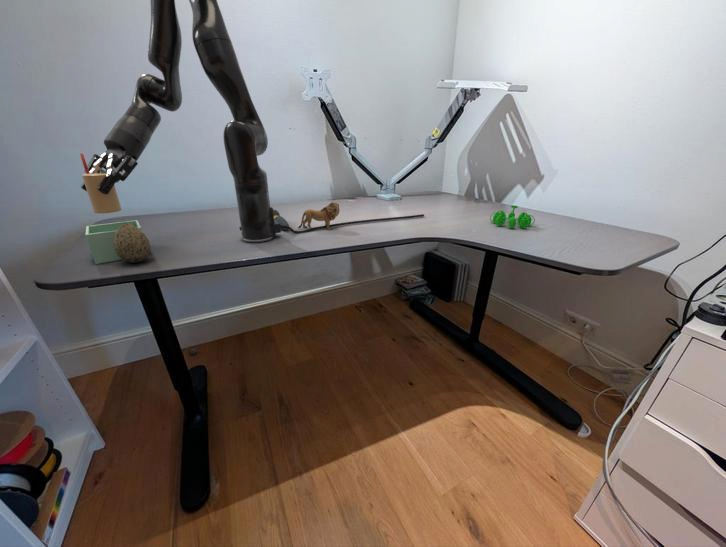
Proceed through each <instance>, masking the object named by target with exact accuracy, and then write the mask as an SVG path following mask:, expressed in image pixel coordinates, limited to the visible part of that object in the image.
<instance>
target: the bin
mask: <svg viewBox="0 0 726 547" xmlns="http://www.w3.org/2000/svg"><path fill="white" fill-rule="evenodd" d="M124 223H129V224H132V225H133V226H135V227H137V228H138V229H140V230H141V231H142V232H143V229H142V226H141V224H140V223H139V219H136V220H127V221H118V222H110V223H102V224H93V225H86V227H85V233H84V236H85V238H86V241H87V245H88V246H89V250H90V252H91V253H90V254H91V255H92V258H93V260H94V264H95V265H99V264H104V263H105V264H106V263H110V262H117V261H123V259H121V258H120V257H119V256H118V254H117V253H116V251H115V248H114V237H115V234H116V232H117V230H118V229H119V227H120V226H121V225H122V224H124Z"/></svg>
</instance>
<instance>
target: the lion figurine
mask: <svg viewBox="0 0 726 547" xmlns="http://www.w3.org/2000/svg"><path fill="white" fill-rule="evenodd" d="M340 210H341V209H340V204H339V203H338V202H335V201H332V202H330V203H329V204H327V205H326V206H324V207H323V208H322V209H320V210H315V209H311V208H310V209H306V210H305V211H303V213H302V217H301V222H300V224H299V225H298V227H297V229H301V228H304V229H306V228H308V229H310V228H312V226H311V223H312V220H314V221H317V222H324V226H326V225H327V228H326V229H327V230H328V231H330V230H332V227H329V225H331V221H335V219H336V218H337V217H338V216H339V214H340ZM306 223H307V225H306Z"/></svg>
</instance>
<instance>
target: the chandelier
mask: <svg viewBox="0 0 726 547" xmlns="http://www.w3.org/2000/svg"><path fill="white" fill-rule="evenodd" d="M510 208H513V210H511V211H510V212H509V213H508V216H507V214H506V212H505V210H498V211H494V212H492V214H491V215H490V216H489V220H490V222H491V223H492V224H495V225H496V226H497V227H502V226H504V225H505V223H506V221H508V224H507V226H508V227H509V228H510V229H513V228H515V227H516V223H517V222H518V223H517V224H518V227H519V228H520V229H523V230H525V229H527V228H528V227H532V226H533V225H534V224H535V222H536V219H535V217H534V216H533V215H532V214H528V213H527V212H526V211H523V212H520V214H519V215H518V217H517V218H516V217H515V216H516V213H515V209H518V208H519V206H518V205H510ZM492 216H493V217H492ZM532 218H533V222H532Z"/></svg>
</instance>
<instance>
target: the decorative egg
mask: <svg viewBox="0 0 726 547" xmlns="http://www.w3.org/2000/svg"><path fill="white" fill-rule="evenodd" d="M114 248H115V251H116V253H117V254H118V256H119V257H120V258H121V259H122V261H124V262H127V263H130V264H139V263H141V262H144V261H145V260H146V259H147V258H148V257H149V256H150V253H151V242H150V239H149V238H148V237H147V236H146V234H145V232H143V230H142V231H141V230H140V229H138V228H137V227H135V226H133V225H132V224H129V223H124V224H122V225H121V226H120V227H119V229H118V230H117V232H116V234H115V237H114Z"/></svg>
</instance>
